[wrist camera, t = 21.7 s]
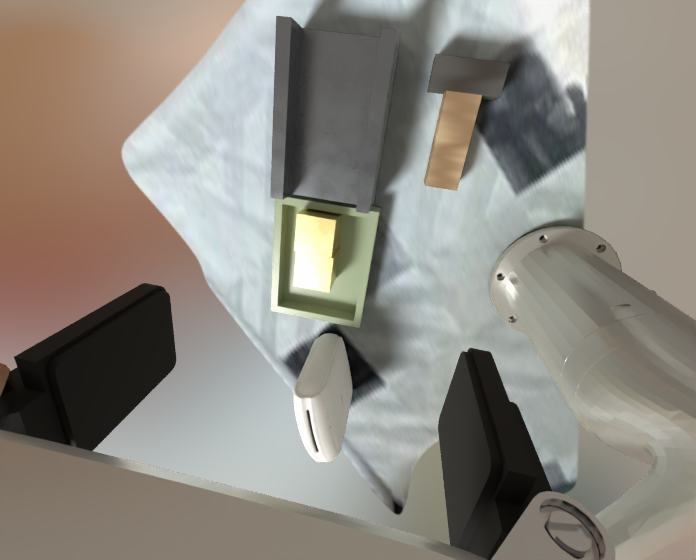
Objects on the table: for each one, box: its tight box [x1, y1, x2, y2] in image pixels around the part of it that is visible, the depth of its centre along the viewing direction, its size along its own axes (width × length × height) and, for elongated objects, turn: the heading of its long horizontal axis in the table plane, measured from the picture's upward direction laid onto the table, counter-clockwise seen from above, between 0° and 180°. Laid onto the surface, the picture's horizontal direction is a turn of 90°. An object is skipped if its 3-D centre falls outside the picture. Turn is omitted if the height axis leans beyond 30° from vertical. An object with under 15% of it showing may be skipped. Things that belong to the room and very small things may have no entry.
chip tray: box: [271, 194, 381, 328], centre depth 39 cm, size 11×14×2 cm
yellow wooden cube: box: [294, 208, 343, 258], centre depth 36 cm, size 4×4×4 cm
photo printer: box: [294, 333, 352, 462], centre depth 40 cm, size 10×4×12 cm, turn 9°
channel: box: [271, 16, 399, 214], centre depth 31 cm, size 9×14×6 cm
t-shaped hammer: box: [424, 54, 510, 191], centre depth 31 cm, size 6×3×10 cm
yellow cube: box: [294, 246, 340, 292], centre depth 38 cm, size 4×4×4 cm
